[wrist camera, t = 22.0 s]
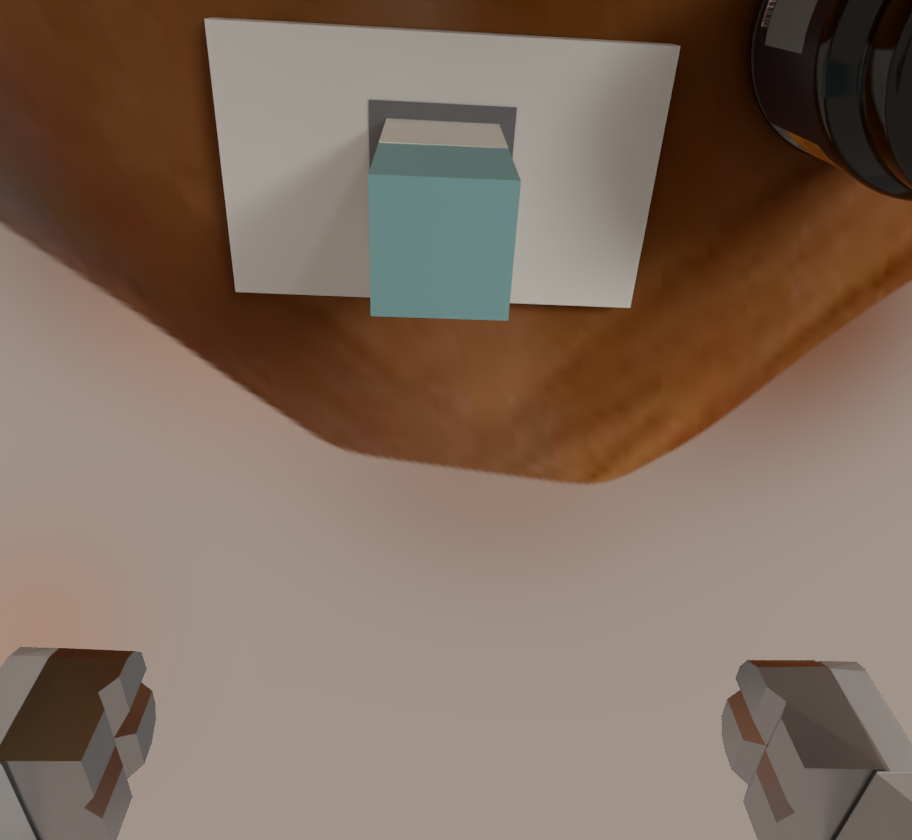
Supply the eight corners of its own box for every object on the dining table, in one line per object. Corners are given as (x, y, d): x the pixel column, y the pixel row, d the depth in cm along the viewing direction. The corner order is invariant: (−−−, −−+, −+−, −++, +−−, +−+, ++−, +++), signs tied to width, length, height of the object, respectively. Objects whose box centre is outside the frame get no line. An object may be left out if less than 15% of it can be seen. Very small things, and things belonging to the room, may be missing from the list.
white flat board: (672, 43, 32) (681, 46, 31) (625, 298, 38) (630, 308, 37) (211, 16, 31) (203, 18, 30) (240, 283, 37) (235, 292, 36)
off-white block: (499, 124, 32) (508, 147, 28) (490, 234, 35) (497, 271, 31) (386, 118, 32) (378, 141, 28) (386, 229, 35) (379, 266, 31)
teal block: (508, 148, 28) (521, 180, 24) (498, 271, 31) (508, 320, 27) (378, 142, 28) (368, 174, 24) (379, 267, 31) (370, 316, 26)
